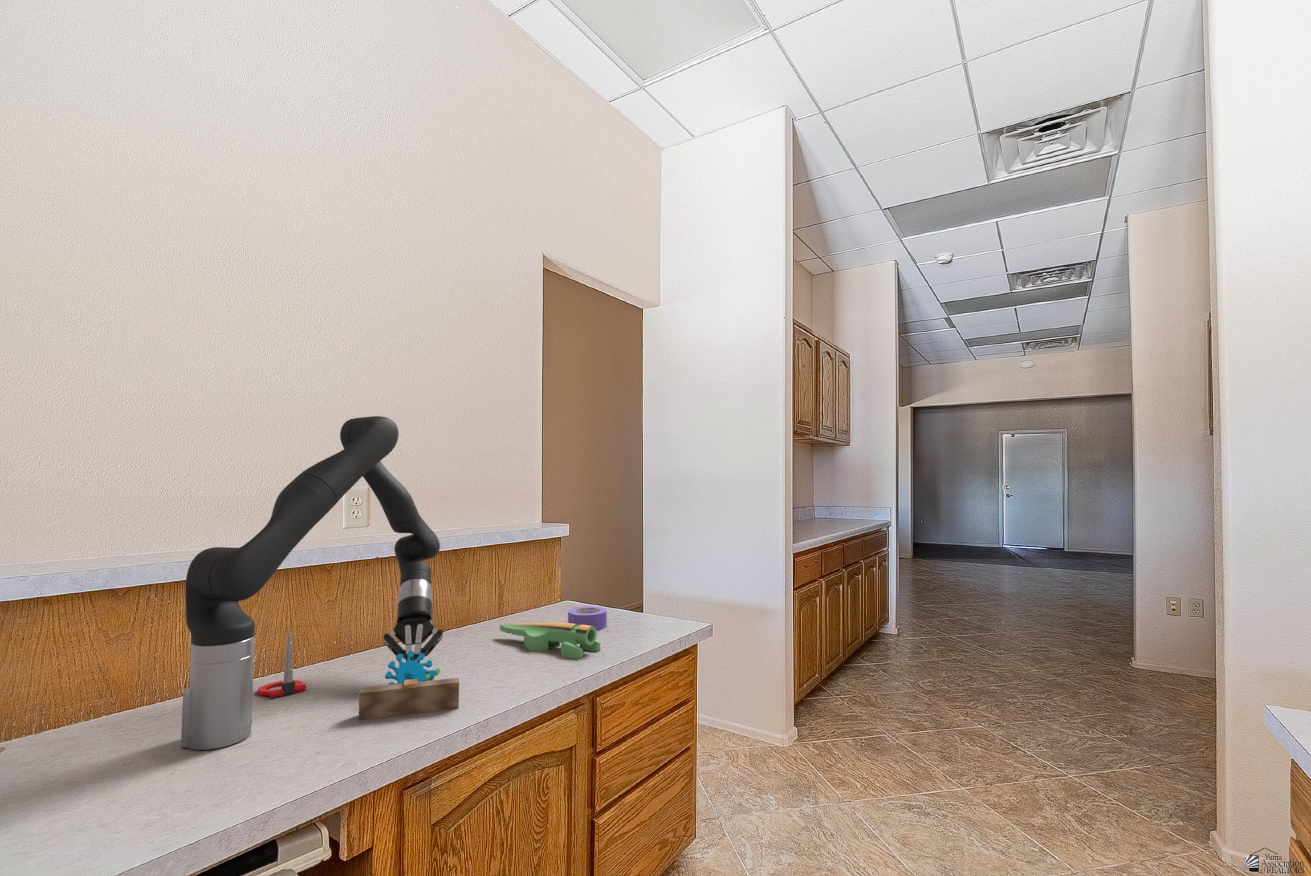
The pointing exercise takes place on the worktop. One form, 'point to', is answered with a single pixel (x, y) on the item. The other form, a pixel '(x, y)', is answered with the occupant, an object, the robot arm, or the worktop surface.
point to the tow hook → (288, 684)
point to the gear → (411, 669)
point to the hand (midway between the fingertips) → (412, 673)
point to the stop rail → (408, 698)
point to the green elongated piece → (556, 637)
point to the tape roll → (588, 616)
